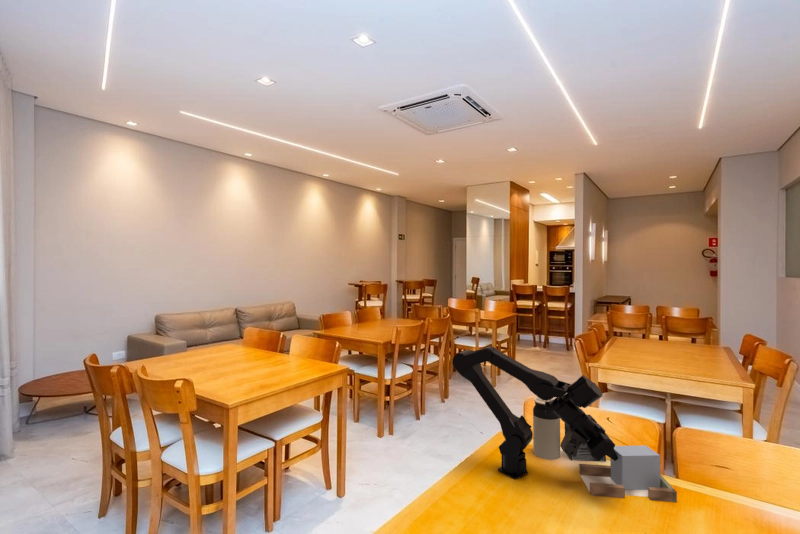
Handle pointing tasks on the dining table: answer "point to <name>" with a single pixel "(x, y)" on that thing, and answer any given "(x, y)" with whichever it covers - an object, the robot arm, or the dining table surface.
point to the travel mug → (545, 431)
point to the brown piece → (603, 485)
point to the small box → (584, 451)
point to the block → (636, 467)
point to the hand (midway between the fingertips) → (616, 459)
